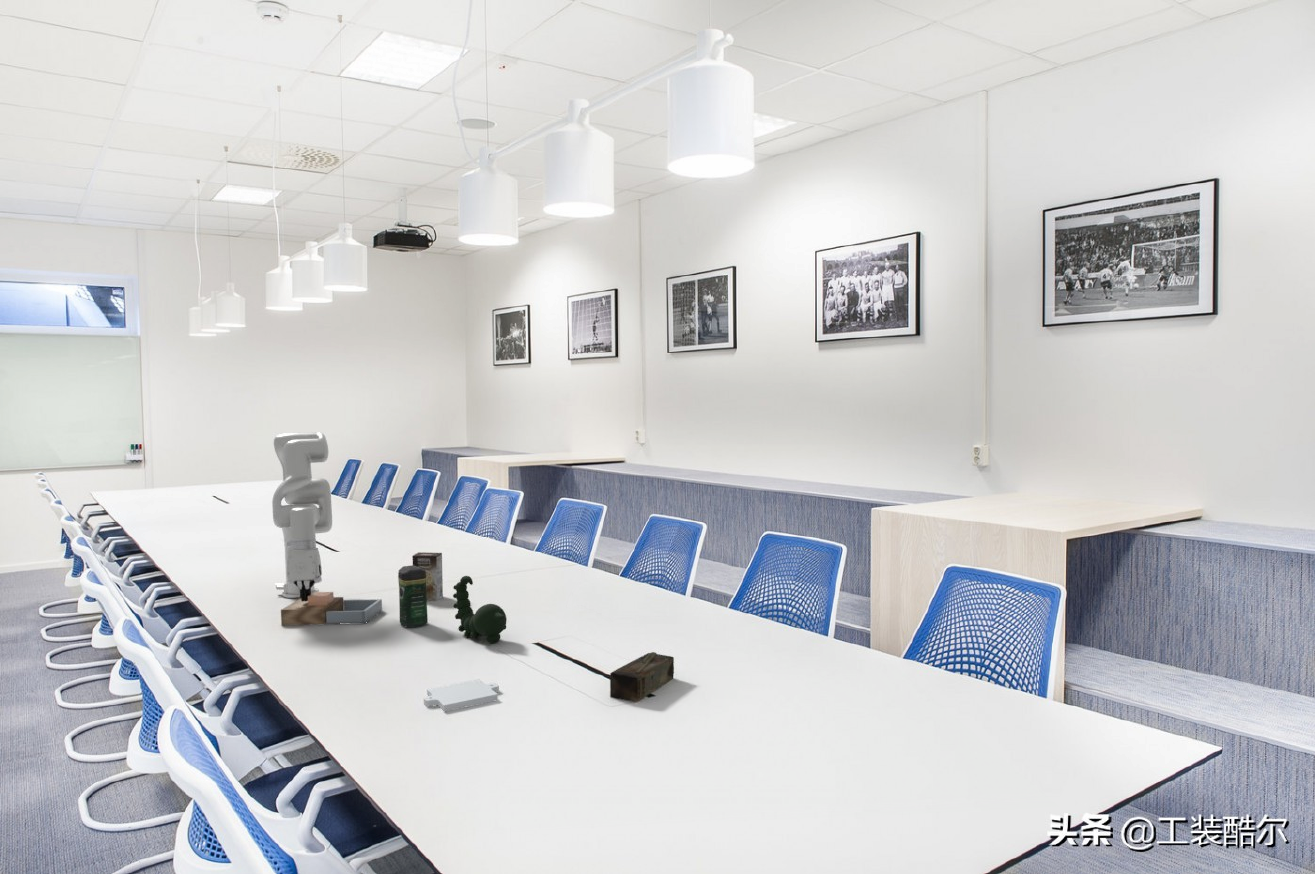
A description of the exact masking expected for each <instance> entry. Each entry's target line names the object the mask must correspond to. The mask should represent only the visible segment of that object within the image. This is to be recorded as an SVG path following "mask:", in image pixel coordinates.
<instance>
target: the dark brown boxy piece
mask: <svg viewBox="0 0 1315 874" xmlns="http://www.w3.org/2000/svg"><path fill="white" fill-rule="evenodd" d="M674 664H675V658H674V656H671V655H666V654H665V655H664V654H659V653H657V652H654V651H652V652H648V653H645V654H644V655H641V656H640V657H638V658H635V659H634V660H632V661H630V662H628V663H626V664H624V665H622V666H621V667H619V668H616V669H615V670H613V671H612V672H610V675H609V677H610V678H609V679H610V680H609V681H610V682H609V685H610V686H609V689H610V690H609V696H610V698H612V699H613V698H614V699H619V700H624V701H626V702H627V701H628V702H633V703H638V702H639V701H641V700H642V699H644V698H646V697H647V696H649V695H650V694H652V693H654V692H656V691H657V690H658V689H659V688H662V686H664V685H666V684H667V683H668V682H670V681H672V680H673V679H674V673H675V672H674V671H675V665H674Z"/></svg>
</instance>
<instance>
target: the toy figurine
mask: <svg viewBox="0 0 1315 874" xmlns="http://www.w3.org/2000/svg"><path fill="white" fill-rule="evenodd" d="M459 580H460V581H458V582H457V583H456V584H455V585H453V587H452V588H453V590H455V591H456V592H455V593H454V594H452V597H453V598H454V599H456V600H457V601H456V603H453V606H452V607H453V609H457V613H455V614H454V615H455V616H454V618H455V619H456V620H460V625H459V626H458V631H459V632H461V633H463V632H464V633H463V636H464V638H466V639H467V638H471V639H473V640H474V641H475V640H477V639H478V638H479V637H481V636H482V637H485V639H486V642H487V643H489V644H495V643H498V642H499V641H500V640H501V633H502V632H503V631H504V630H506V629H507V615H506V613H505V611H504V609H503V608H502V607H501V606H499V605H498V604H496V603H487V604H483V605H482V606H480V607H479V608H478V609H477V610H476V611H475V613H474V610H473V608H472V607H471V600H470V599H469V595H470V594H469V590H468V584H470V586H472V585H473V583H474V582H473V579H472V577H471V576H470V575H464V576H461V578H460V579H459Z"/></svg>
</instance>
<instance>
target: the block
mask: <svg viewBox="0 0 1315 874" xmlns="http://www.w3.org/2000/svg"><path fill="white" fill-rule="evenodd" d="M334 597H335V596H334V591H319V592H315V593H313V594H311V595H309V596H308V606H313V605H328V604H329V603H331V602H333V601H334Z"/></svg>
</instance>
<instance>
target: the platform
mask: <svg viewBox="0 0 1315 874" xmlns="http://www.w3.org/2000/svg"><path fill="white" fill-rule="evenodd" d="M333 597H334V601H333V602H331V603H329V604H328V605H313V606H308V601H301V598H299V599H297V600H295V601H294V602H292V603H290V604H289V605H286V606H285V607H283V608H281V609H280V622H281V626H303V625H304V626H309V625H310V624H324V625H326V624H325V623H326V622H327V618H326V612H327V611H343V610H344V596H333ZM310 626H311V625H310Z"/></svg>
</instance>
